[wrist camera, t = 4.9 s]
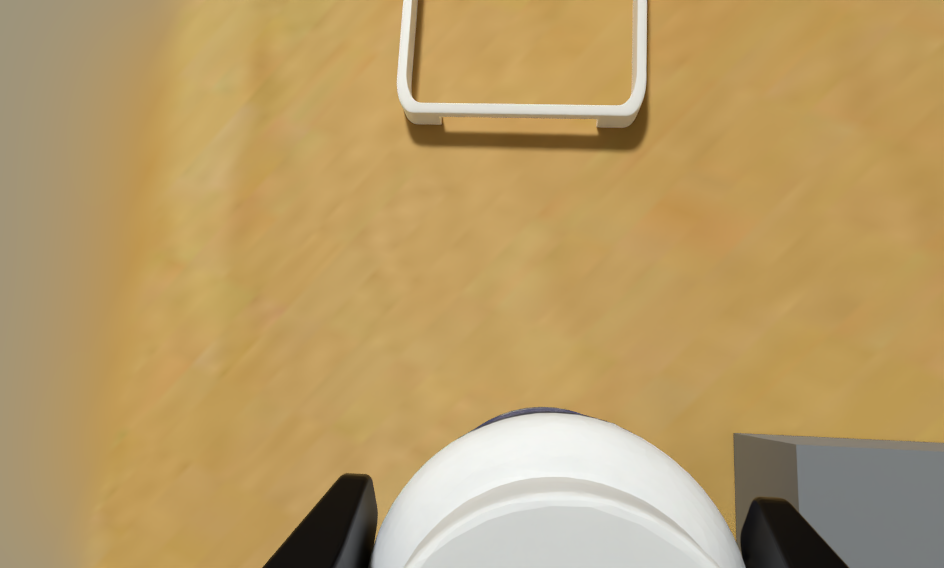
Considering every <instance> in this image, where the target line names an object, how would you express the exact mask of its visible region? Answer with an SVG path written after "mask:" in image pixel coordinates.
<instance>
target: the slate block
mask: <svg viewBox="0 0 944 568" xmlns="http://www.w3.org/2000/svg"><path fill="white" fill-rule="evenodd" d="M734 466H735V503H736V539H737V546H738V548H739V550H740V552H741V546H740V535H741V530H742V527H743V524H744V521H745V518H746V515H747V513H748V510H749V507H750V504H751V502H752V500H753V499H754V498H755V497H759V496H761V497H778V498H783V499H785V500H787V501H789V502H790V503H791V504H792V505H793V506H794V507H795V509H796V510H797V511H798V512H799V513H800V514H801V515H802V516H803V517H804V518H805V519H806V521H807V522H808V523H809V524H810V525H811V526H812V527H813V528H814V529H815V530H816V532H817V533H818V534H819V535H820V536H821V537H822V538H823V539H824V540H825V541H826V543H827V544H828V545H829V546H830V547H831V548H832V549H833V550H834V551H835V552H836V554H837V555H838V556H839V557H840V558H841V559H842V560H843V561H844V562H845V563H846V565H847V566H848V567H849V568H944V443H932V442H911V441H890V440H869V439H848V438H826V437H805V436H784V435H763V434H742V433H734ZM741 555H742V553H741Z"/></svg>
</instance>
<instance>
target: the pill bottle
mask: <svg viewBox="0 0 944 568" xmlns="http://www.w3.org/2000/svg"><path fill="white" fill-rule="evenodd" d="M368 568H746V567H745V564H744V561H743V558H742V555H741V552H740V550H739V548H738V546H737V543H736V541H735V539H734V537H733V534H732V533H731V531H730V529H729V527H728V525H727V523H726V521H725V520H724V518H723V516H722V515H721V513H720V512H719V510H718V509H717V507H716V505H715V504H714V503H713V501H712V500H711V499H710V497H709V496H708V495H707V494H706V492H705V491H704V490H703V488H702V487H701V486H700V485H699V484H698V483H697V482H696V481H695V480H694V479H693V477H692V476H691V475H690V474H689V473H688V472H686V471H685V470H684V469H683V468H682V467H681V466H680V465H678V464H677V463H676V462H675V461H674V460H673V459H671V458H670V457H669V456H668V455H666V454H665V453H664V452H662V451H661V450H660V449H658V448H657V447H655V446H654V445H652V444H651V443H649V442H647V441H646V440H644V439H643V438H641V437H639V436H637V435H635V434H633V433H631V432H630V431H628V430H626V429H623V428H621V427H619V426H617V425H615V424H613V423H610V422H607V421H604V420H600V419H597V418H593V417H589V416H586V415H583V414H580V413H577V412H573V411H570V410H565V409H559V408H551V407H533V408H524V409H519V410H515V411H511V412H508V413H505V414H502V415H499V416H497V417H495V418H493V419H491V420H489V421H487V422H485V423H483V424H482V425H480V426H478V427H477V428H475V429H474V430H472V431H470V432H468V433H467V434H465V435H463V436H461V437H460V438H458V439H456V440H455V441H453V442H452V443H450V444H449V445H447V446H446V447H444V448H443V449H442V450H440V451H439V452H438V453H437V454H435V455H434V456H433V457H432V458H430V459H429V460H428V461H427V462H426V463H425V464H424V465H423V466H422V467H421V468H420V469H419V470H418V471H417V473H416V474H415V475H414V476H413V477H412V478H411V480H410V481H409V482H408V483H407V484H406V486H405V487H404V488H403V490H402V491H401V493H400V494H399V495H398V497H397V498H396V500H395V501H394V503H393V504H392V506H391V508H390V510H389V512H388V514H387V515H386V517H385V519H384V521H383V523H382V525H381V528H380V530H379V533H378V535H377V538H376V541H375V544H374V546H373V549H372V552H371V555H370V560H369V564H368Z"/></svg>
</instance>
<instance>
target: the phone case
mask: <svg viewBox="0 0 944 568" xmlns="http://www.w3.org/2000/svg"><path fill="white" fill-rule="evenodd" d="M417 7H418V0H403V11H402V24H401V36H400V48H399V61H398V73H397V91H398V97H399V100H400V103H401V105H402V107H403V110H404V112H405V114H406V116H407V118H408V119H409V121H411V122H412V123H414V124H433V125H441V124H442V117H492V118H557V119H597V127H599V128H625V127H628V126H629V125H631V124H632V122H633V121H634V120H635V118H636V116H637V114H638V111H639V109H640V106H641V104H642V101H643V98H644V95H645V90H646V68H647V0H633V38H632V91H631V97H630V98H629V100H628V101H627V102H626V103H624V104H623V105H545V104H471V103H419V102H417V101H415V100H414V99H413V98H412V88H411V87H412V72H413V59H414V46H415V33H416V20H417Z"/></svg>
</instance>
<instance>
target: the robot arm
mask: <svg viewBox="0 0 944 568" xmlns="http://www.w3.org/2000/svg"><path fill="white" fill-rule="evenodd" d="M377 518H378V510H377V504H376V498H375V492H374V487H373V482H372V479H371V477H370V476H369V475H367V474H352V473H346V474H344V475H342V476H340V477H339V478H338V480H337V481H336V482H335V483H334V484H333V485H332V487H331V488H330V489H329V490H328V491H327V493H326V494H325V495H324V496H323V497H322V498H321V500H320V501H319V502H318V503H317V504H316V505H315V507H314V508H313V509H312V510H311V511H310V512H309V514H308V515H307V516H306V517H305V518H304V519H303V521H302V522H301V523H300V524H299V525H298V527H297V528H296V529H295V530H294V531H293V532H292V534H291V535H290V536H289V537H288V538H287V539H286V541H285V542H284V543H283V544H282V545H281V546H280V548H279V549H278V550H277V551H276V552H275V553H274V555H273V556H272V557H271V558H270V559H269V561H268V562H267V563H266V564H265V565H264V566H263V568H368V564H369V560H370V555H371V552H372V549H373V546H374V540H375V534H376V527H377ZM740 546H741V553H742V558H743V561H744V564H745V567H746V568H849V567H848V566H847V565H846V563H845V562H844V561H843V560H842V559H841V558H840V557H839V556H838V555H837V554H836V552H835V551H834V550H833V549H832V548H831V547H830V546H829V545H828V544H827V543H826V541H825V540H824V539H823V538H822V537H821V536H820V535H819V534H818V533H817V532H816V530H815V529H814V528H813V527H812V526H811V525H810V524H809V523H808V522H807V521H806V519H805V518H804V517H803V516H802V515H801V514H800V513H799V512H798V511H797V510H796V509H795V507H794V506H793V505H792V504H791V503H790V502H789V501H787V500H785V499H783V498H778V497H761V496H759V497H755V498H754V499H753V500H752V502H751V504H750V507H749V510H748V513H747V515H746V518H745V521H744V524H743V527H742V530H741V535H740Z"/></svg>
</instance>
